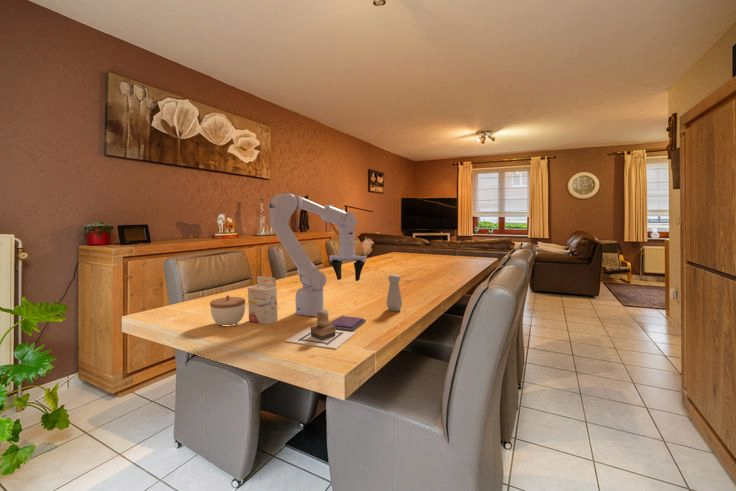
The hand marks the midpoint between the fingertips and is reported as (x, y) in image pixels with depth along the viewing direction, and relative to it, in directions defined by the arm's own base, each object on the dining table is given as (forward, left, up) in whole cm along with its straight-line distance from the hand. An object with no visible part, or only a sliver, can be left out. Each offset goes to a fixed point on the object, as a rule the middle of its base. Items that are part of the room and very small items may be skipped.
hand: (348, 279), depth 134 cm
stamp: (+7, -33, -10) cm, 35 cm away
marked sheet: (+7, -33, -10) cm, 36 cm away
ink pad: (+9, -20, -10) cm, 24 cm away
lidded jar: (-28, -32, -11) cm, 44 cm away
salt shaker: (+18, +2, -11) cm, 21 cm away
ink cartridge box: (-19, -26, -11) cm, 34 cm away
